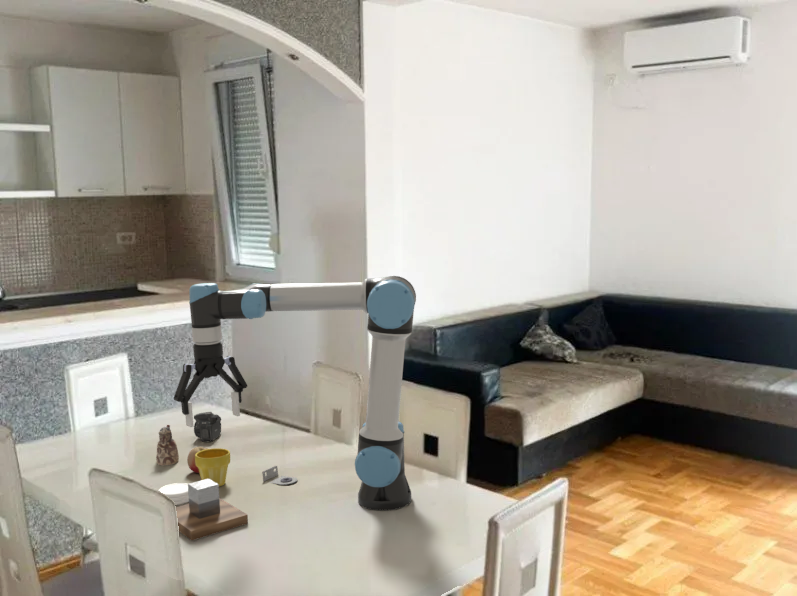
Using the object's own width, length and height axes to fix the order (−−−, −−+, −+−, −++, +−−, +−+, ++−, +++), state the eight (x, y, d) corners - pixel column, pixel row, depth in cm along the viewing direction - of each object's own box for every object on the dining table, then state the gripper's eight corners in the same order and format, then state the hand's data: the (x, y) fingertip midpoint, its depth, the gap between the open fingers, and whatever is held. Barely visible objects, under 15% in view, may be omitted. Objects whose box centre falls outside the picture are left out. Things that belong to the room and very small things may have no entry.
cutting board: (247, 523, 215) (247, 514, 214) (191, 540, 205) (191, 531, 204) (217, 504, 229) (216, 496, 228) (163, 519, 219) (162, 510, 218)
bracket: (287, 488, 241) (287, 477, 241) (262, 482, 247) (262, 471, 247) (301, 481, 247) (301, 470, 246) (277, 475, 252) (276, 465, 252)
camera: (194, 434, 298) (192, 408, 297) (221, 431, 301) (220, 405, 299) (194, 444, 285) (193, 417, 284) (223, 442, 288) (222, 414, 287)
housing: (220, 513, 216) (218, 484, 215) (199, 519, 212) (197, 489, 211) (210, 506, 221) (208, 478, 220) (189, 512, 217) (187, 483, 216)
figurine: (152, 464, 265) (150, 429, 263) (163, 457, 272) (161, 423, 270) (172, 465, 263) (169, 430, 262) (182, 459, 270) (180, 424, 268)
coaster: (156, 497, 236) (155, 485, 236) (191, 491, 240) (190, 480, 240) (160, 508, 227) (159, 496, 227) (196, 502, 231) (195, 491, 230)
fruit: (205, 477, 252) (204, 452, 251) (183, 474, 254) (182, 450, 253) (219, 468, 259) (217, 444, 258) (197, 466, 262) (196, 442, 261)
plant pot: (217, 475, 253) (215, 445, 251) (238, 482, 246) (237, 451, 245) (189, 485, 245) (187, 454, 243) (211, 492, 238) (209, 460, 237)
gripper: (242, 333, 223) (247, 408, 226) (156, 347, 207) (163, 428, 210) (256, 336, 217) (261, 413, 220) (168, 351, 201) (175, 433, 204)
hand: (213, 420), depth 215 cm, fingers open, 13 cm apart
